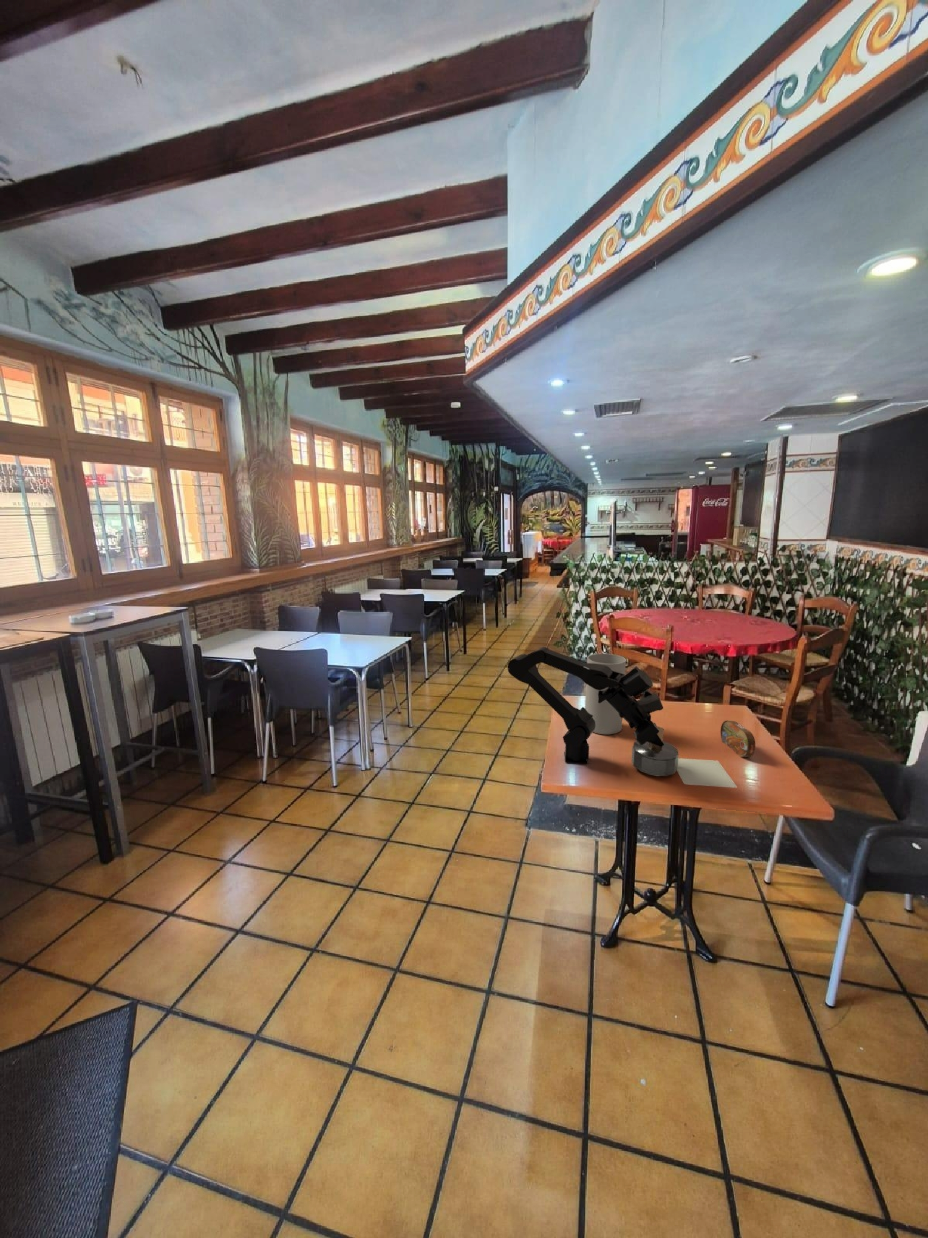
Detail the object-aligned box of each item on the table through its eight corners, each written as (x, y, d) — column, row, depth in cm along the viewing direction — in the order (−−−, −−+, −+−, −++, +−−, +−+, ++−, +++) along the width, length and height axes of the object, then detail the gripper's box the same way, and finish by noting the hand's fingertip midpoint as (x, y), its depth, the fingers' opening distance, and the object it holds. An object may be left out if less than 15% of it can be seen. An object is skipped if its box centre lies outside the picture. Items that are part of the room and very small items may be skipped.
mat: (684, 785, 134) (684, 784, 134) (669, 759, 148) (670, 757, 148) (737, 789, 132) (737, 787, 132) (717, 762, 146) (717, 760, 146)
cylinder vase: (617, 721, 176) (621, 653, 171) (625, 736, 164) (629, 664, 159) (582, 719, 177) (585, 653, 172) (587, 734, 165) (590, 663, 160)
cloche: (636, 774, 137) (639, 736, 134) (628, 753, 148) (631, 719, 146) (681, 777, 135) (685, 739, 133) (670, 756, 147) (673, 721, 144)
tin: (718, 740, 161) (721, 716, 159) (728, 739, 161) (730, 715, 159) (744, 762, 146) (748, 736, 144) (755, 762, 146) (758, 736, 144)
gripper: (653, 698, 128) (694, 739, 129) (639, 675, 146) (675, 712, 147) (620, 724, 131) (660, 765, 132) (610, 698, 149) (645, 734, 150)
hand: (661, 742), depth 140 cm, fingers closed on cloche, 4 cm apart
